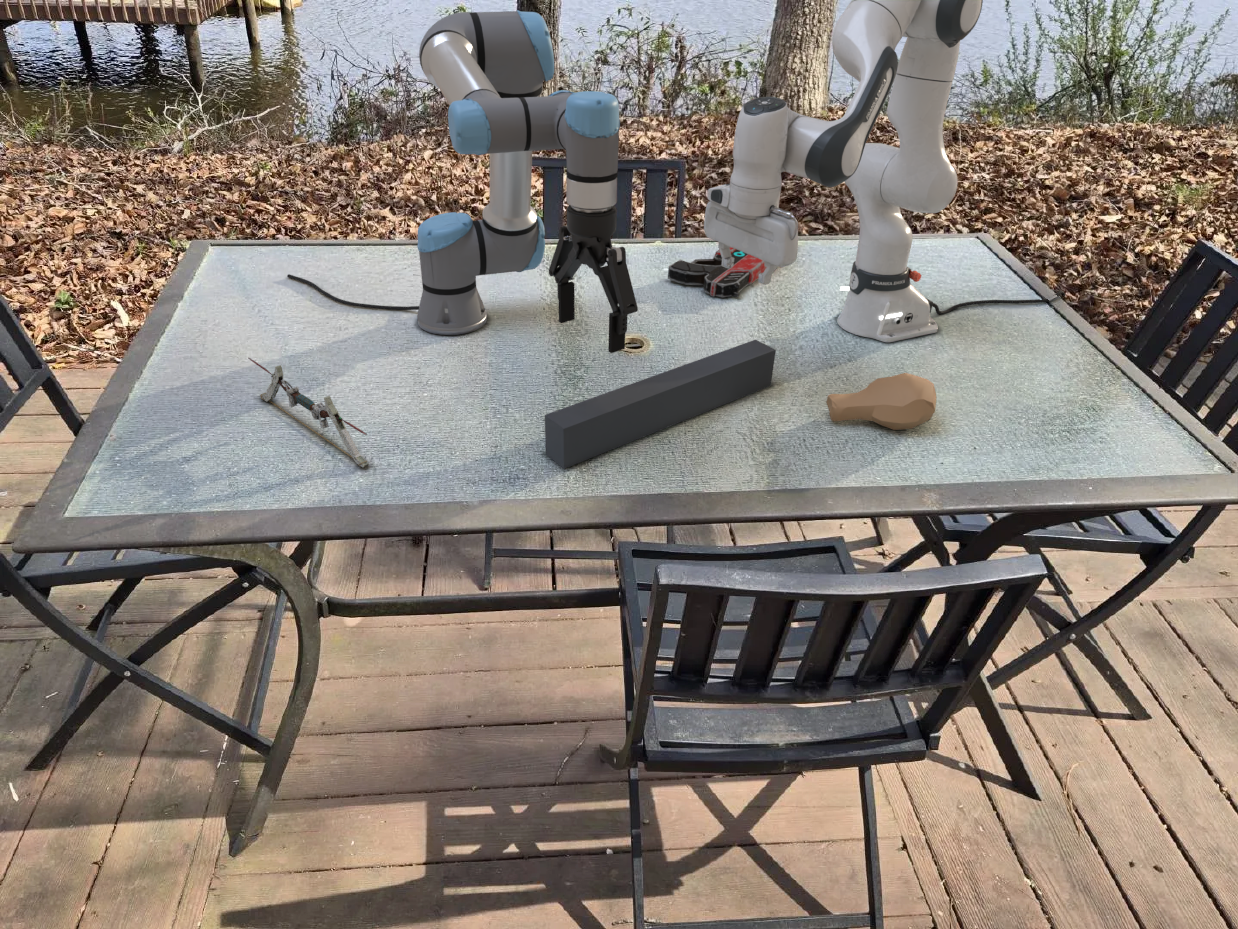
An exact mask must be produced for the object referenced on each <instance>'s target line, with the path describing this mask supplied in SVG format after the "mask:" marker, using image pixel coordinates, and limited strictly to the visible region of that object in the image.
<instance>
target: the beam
mask: <svg viewBox="0 0 1238 929" xmlns="http://www.w3.org/2000/svg"><path fill="white" fill-rule="evenodd" d="M776 351H777V349H775V348H773V347H771V346H769V345H767V344H765V343H763V342H761V341H759V340H757V339H752V340H750V341H747V342H744V343H741V344H738V345H736V346H734V347H730V348H728V349H726V350H722V351H719V352H716V353H714V354H710V355H709V356H706V357H702V358H700V359H696V360H694V361H691V362H689V363H686V364H683V365H680V366H678V367H675V368H672V369H669V370H666V371H664V372H661V373H658V374H656V375H653V376H649V377H647V378H644V379H642V380H638V381H636V382H633V383H630V384H627V385H625V386H621V387H619V388H616V389H614V390H613V389H612V390H610V391H608V392H605V393H602V394H600V395H596V396H593V397H591V398H588V399H586V400H582V401H579V402H577V403H574V404H572V405H571V404H570V405H568V406H566V407H563V408H560V409H558V410H555V411H551V412H549V413H545V414H544V441H545V444H544V445H545V446H544V447H545V455H546V456H547V457H548V458H549V459H551V460H552V461H553V462H555V463H556V464H557V465H558V466H560V468H562V469H563V470H565V469H567V468H570V467H572V466H576V465H578V464H580V463H582V462H585V461H588V460H590V459H591V458H595V457H597V456H600V455H602V454H604V453H607V452H609V451H613V450H614V449H618V448H619V447H622V446H625V445H627V444H630V443H632V442H634V441H637V440H640V439H642V438H644V437H645V438H646V437H647V436H650V435H652V434H654V433H657V432H660V431H662V430H664V429H667V428H670V427H671V426H674V425H676V424H677V425H678V424H680V423H682V422H685V421H687V420H689V419H692V418H694V417H697V416H699V415H702V414H704V413H706V412H709V411H711V410H714V409H716V408H719V407H722V406H725V405H727V404H729V403H732V402H734V401H736V400H737V401H738V400H739V399H741V398H744V397H746V396H749V395H751V394H754V393H756V392H759V391H762V390H764V389H766V388H768V387H771V386H772V380H773V373H774V366H775V361H776V360H775V359H776V353H777V352H776Z"/></svg>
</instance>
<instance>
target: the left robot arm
mask: <svg viewBox="0 0 1238 929" xmlns="http://www.w3.org/2000/svg"><path fill="white" fill-rule="evenodd" d="M554 56H555V55H554V48H553V43H552V38H551V34H550V30H549V28H548V25H547V23H546V21H545V19H544V18H543V15H541V14H539V13H538V12H536V11H520V10H518V9H516V10H511V11H473V12H471V11H459V12H455V13H451V14H449V15H446V16H444V17H442V18H440V19H439V20H437V21H436V22H435V23H433V24H432V25H431V26H430V27H429V28H428V29H427V31H426V32H425V34H424V36H423V38H422V40H421V42H420V44H419V51H418V58H419V64H420V67H421V70H422V72H423V74H424V76H425V77H426V79H427V80H428V81H429V83H431V84H432V85H433V86H434V87H436V88H437V89H439V90H440V92H441V93H442V95H443V97H444V99H445V100H446V102H447V104H448V106H449V107H448V110H447V121H448V122H447V123H448V132H449V138H450V140H451V146H452V148H453V150H454V151H455V152H456V153H457V154H460V155H475V156H484V155H489V158H488V159H489V203H488V204H486V205H485V206H484V207H483V209H482V218H481V219H475V220H473V218H472V217H471V216H470V215H469V214H468V213H465V212H457V211H452V212H451V211H450V212H446V213H445V212H444V213H439V214H437V215H433V216H431V217H429V218H427V219H426V220H423V221H422V222H421V223H420V224H419V226H418V227H417V247H416V248H417V251H418V256H419V263H420V275H421V276H420V277H421V284H422V292H421V297H420V302H419V305H412V306H411V305H410V306H409V305H408V306H399V305H397V306H396V305H395V306H394V305H381V304H368V303H361V302H353V301H348V300H346V299H345V300H344V299H342V298H339V297H337V296H334V295H332V294H331V293H329V292H327V291H325V290H323V289H322V288H320V287H319V286H318V285H317V284H315V283H314V282H312V281H310V280H308V279H305V278H303V277H300V276H299V277H298V276H296V275H293V274H290V273H288V274H287V275H286V277H287V278H288V279H292V280H295V281H298V282H301V283H304V284H306V285H308V286H310V287H312V288H313V289H315V290H316V291H318V292H319V293H320V294H322V295H323V296H325V297H326V298H329V299H330V300H332V301H334V302H337V303H340V304H342V305H347V306H351V307H358V308H364V309H365V308H366V309H376V310H388V311H417V316H416V318H417V325H418V326H419V328H420V329H421V330H423V331H424V332H427V333H430V334H433V335H440V336H459V335H465V334H469V333H473V332H476V331H477V330H480V329H481V328H483V327H484V326H485V325H486V323H487V320H488V316H487V310H486V306H485V304H484V302H483V299H482V298H481V295H480V293H479V291H478V288H477V278H476V277H478V276H486V275H487V276H488V275H497V274H505V273H523V272H526V271H532V270H534V269H536V268H538V267H539V266H540V265H541V263H542V261H543V258H544V255H545V251H546V250H545V249H546V239H545V236H546V232H545V225H544V222H543V220H542V218H541V217H540V216H539V215H538V214H537V211H536V210H535V208H534V207H533V206H531V203H532V202H531V200H532V198H531V197H532V172H533V171H532V170H533V152H535V151H552V150H564V151H565V155H566V158H565V159H566V161H565V162H566V175H565V176H566V177H565V178H566V180H565V182H566V184H565V185H566V186H565V188H566V189H565V194H566V195H565V198H566V200H565V201H566V203H567V204H568V206H566V225H562V226H560V227H559V231H558V240H557V242H556V247H555V249H554V253H553V256H552V259H551V262H550V264H549V268H548V275H549V276H550V277H553V278H554V282H555V283H556V284H557V286H556V287H557V288H556V289H557V301H558V322H559V323H560V324H564V323H568V322H570V321H574V320H575V313H576V312H575V308H576V307H575V282H574V281H572V280H575V277H574V276H575V274H576V273H577V271H578V270H579V269H580V267H581V266H582V265H583V266H587V267H588V268H589V269H591V270H592V271H593V274H594V275H595V276H597V277H598V280H599V282H600V284H601V286H602V289H603V291H604V293H605V296H606V299H607V302H608V304H609V306H610V309H611V311H612V312H610V313H608V353H610V354H614V353H617V352H620V351H623V350H625V349H626V333H627V331H628V315H630V314H634V313H637V312H638V309H639V308H638V303H637V300H636V295H635V292H634V287H633V284H632V279H631V276H630V272H629V268H628V265H627V251H626V250H627V249H626V248H625V246H619V247H614V246H613V244H612V236H613V235H614V234H615V232H616V231H617V225H618V223H617V221H618V209H617V207H616V206H615V205H616V204H617V202H618V171H619V170H618V169H619V145H620V144H619V141H620V140H619V139H620V128H621V119H620V105H619V100H618V98H617V97H616V96H615V95H613V94H612V93H608V92H607V93H606V92H604V91H597V90H595V91H594V90H585V91H584V90H583V91H577V92H574V91H570V90H566V89H563V90H562V89H560V90H556V91H554V92H552V93H550V94H549V95H545V96H542V94H543V89H544V82H548V81H551V80H552V79H553V78H554V74H555V57H554Z"/></svg>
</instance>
